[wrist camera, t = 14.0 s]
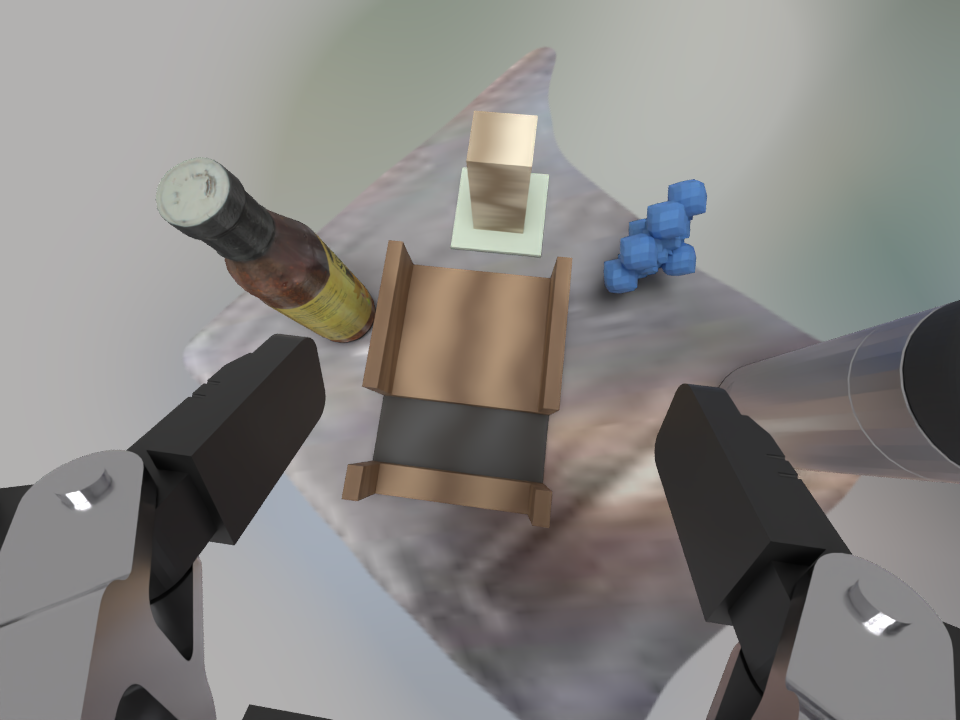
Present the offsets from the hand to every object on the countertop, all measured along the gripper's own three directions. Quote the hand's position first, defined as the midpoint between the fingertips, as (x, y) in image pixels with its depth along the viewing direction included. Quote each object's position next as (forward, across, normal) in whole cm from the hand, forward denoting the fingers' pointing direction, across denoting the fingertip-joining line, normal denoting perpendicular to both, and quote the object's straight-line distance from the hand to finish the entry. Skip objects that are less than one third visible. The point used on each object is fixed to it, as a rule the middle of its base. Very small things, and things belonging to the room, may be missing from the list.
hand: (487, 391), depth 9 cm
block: (+35, +2, +4) cm, 36 cm away
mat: (+36, +2, +5) cm, 36 cm away
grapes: (+32, -12, +9) cm, 35 cm away
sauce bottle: (+27, +16, +14) cm, 34 cm away
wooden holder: (+23, +3, +17) cm, 29 cm away
